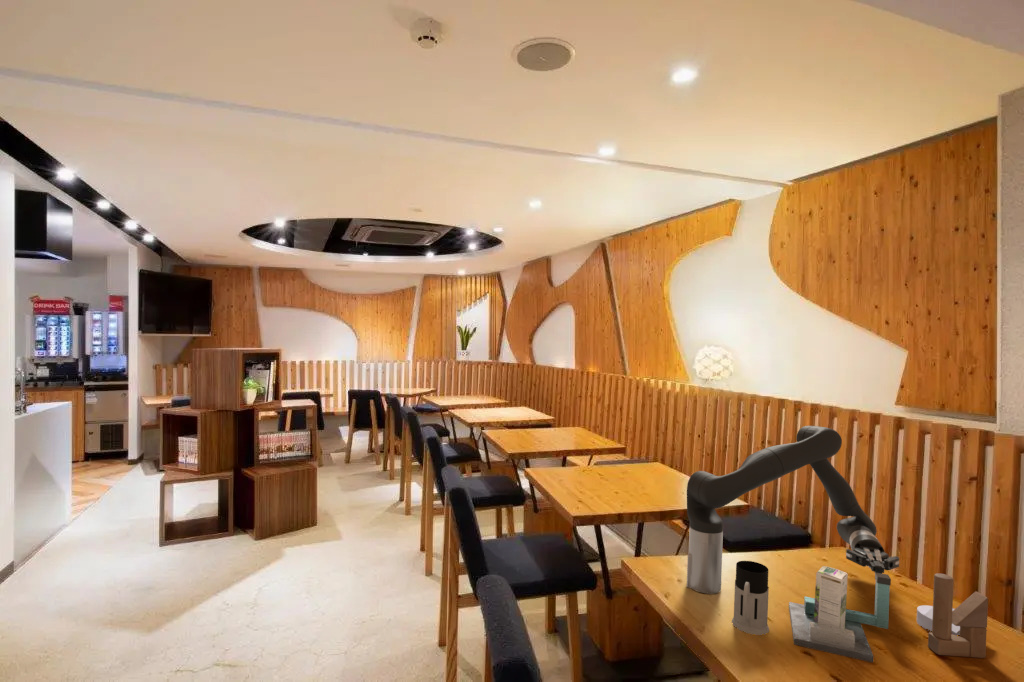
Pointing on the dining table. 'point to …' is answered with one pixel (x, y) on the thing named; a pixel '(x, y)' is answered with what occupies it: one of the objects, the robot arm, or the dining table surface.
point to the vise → (829, 635)
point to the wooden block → (957, 621)
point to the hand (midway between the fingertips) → (878, 570)
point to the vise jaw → (875, 619)
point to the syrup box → (830, 597)
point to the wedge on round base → (931, 619)
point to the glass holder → (751, 598)
